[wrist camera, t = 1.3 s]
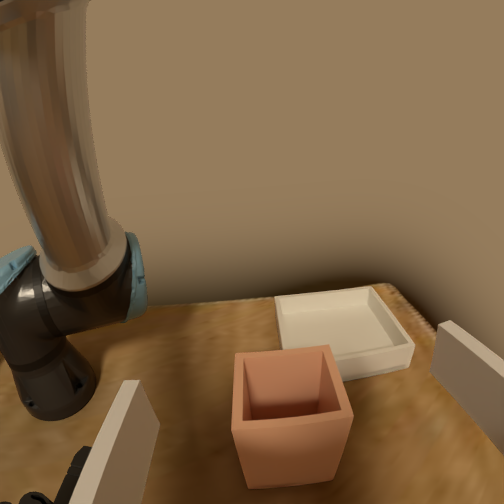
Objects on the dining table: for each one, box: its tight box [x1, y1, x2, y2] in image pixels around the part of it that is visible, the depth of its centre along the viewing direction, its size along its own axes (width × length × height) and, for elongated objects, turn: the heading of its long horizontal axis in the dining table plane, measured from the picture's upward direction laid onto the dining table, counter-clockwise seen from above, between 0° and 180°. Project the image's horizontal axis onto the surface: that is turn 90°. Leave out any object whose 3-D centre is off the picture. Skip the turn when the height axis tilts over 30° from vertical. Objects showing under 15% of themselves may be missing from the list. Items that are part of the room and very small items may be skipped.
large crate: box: [275, 286, 415, 382], centre depth 45 cm, size 19×19×4 cm
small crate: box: [231, 344, 354, 489], centre depth 24 cm, size 9×9×13 cm
